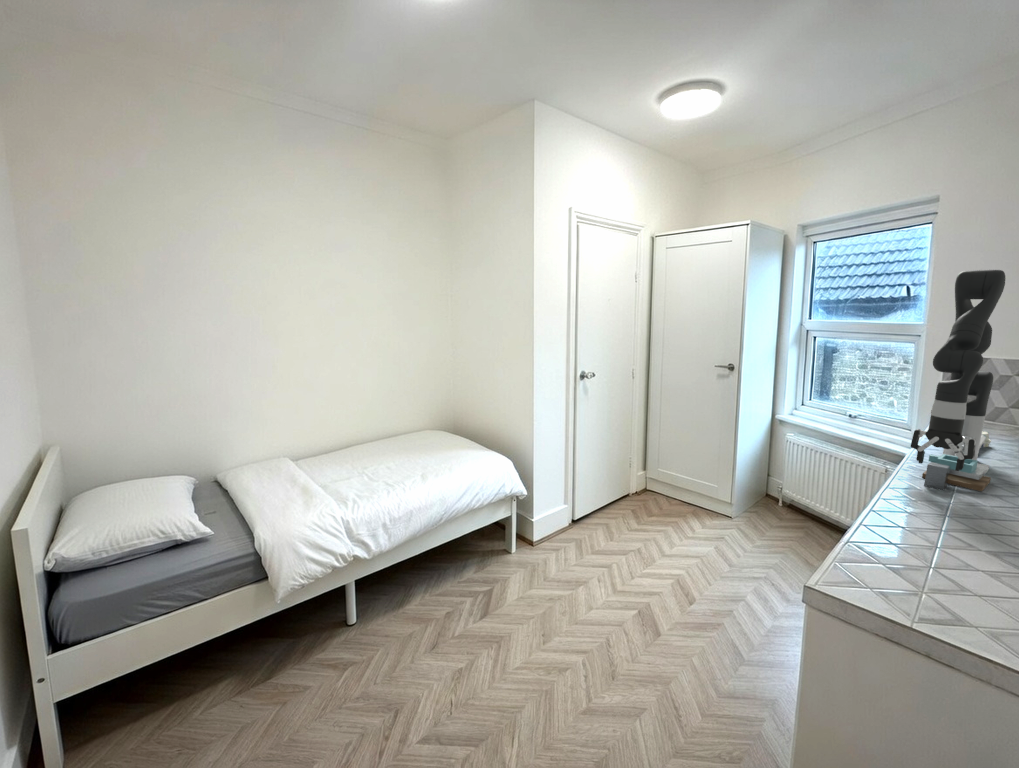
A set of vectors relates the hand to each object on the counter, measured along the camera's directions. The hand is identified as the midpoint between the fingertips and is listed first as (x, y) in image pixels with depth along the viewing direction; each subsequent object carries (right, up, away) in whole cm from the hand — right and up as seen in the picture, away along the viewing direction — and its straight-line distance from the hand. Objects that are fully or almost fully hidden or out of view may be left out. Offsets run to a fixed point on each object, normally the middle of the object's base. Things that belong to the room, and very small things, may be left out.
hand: (938, 466), depth 142 cm
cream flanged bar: (+54, -1, +42) cm, 69 cm away
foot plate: (+13, -6, +8) cm, 16 cm away
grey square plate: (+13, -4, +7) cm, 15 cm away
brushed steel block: (0, -7, +1) cm, 7 cm away
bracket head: (+9, -1, +6) cm, 11 cm away
